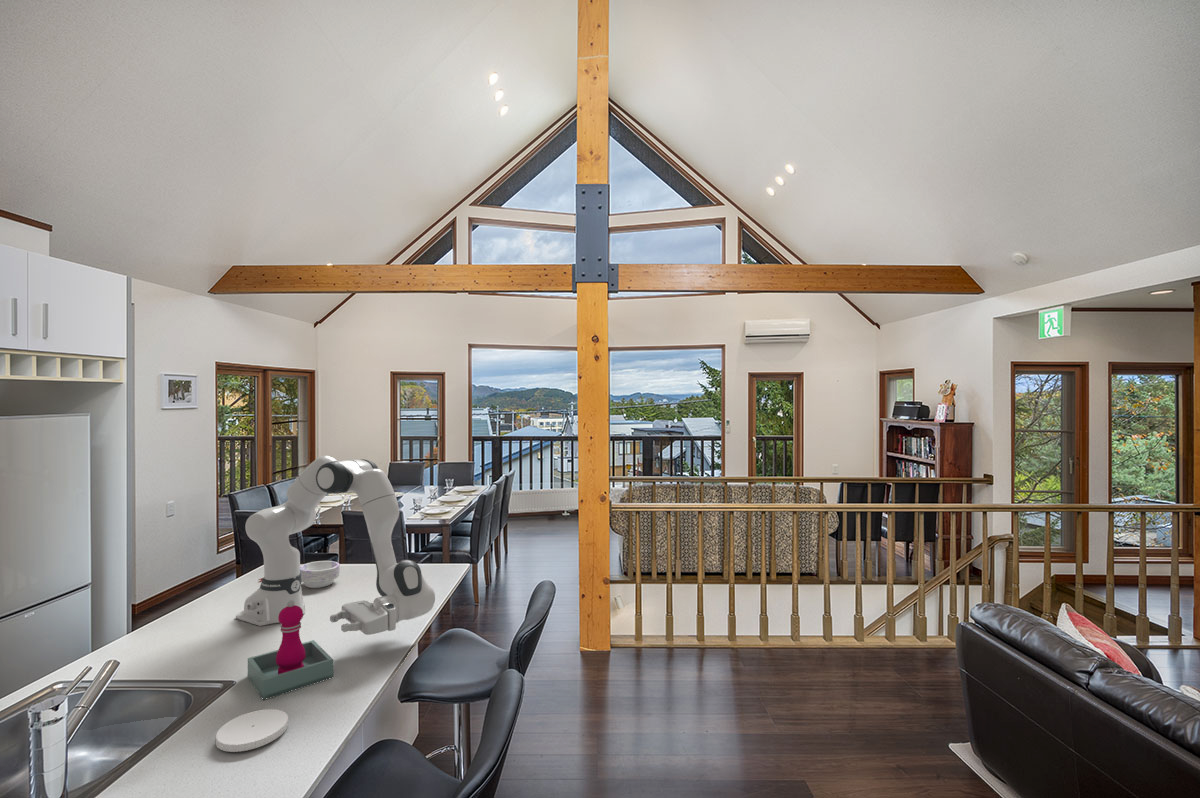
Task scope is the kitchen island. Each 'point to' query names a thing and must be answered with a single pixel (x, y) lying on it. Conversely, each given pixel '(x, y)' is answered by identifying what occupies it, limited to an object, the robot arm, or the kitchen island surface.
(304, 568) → the white bowl
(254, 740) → the plastic lid
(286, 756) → the kitchen island surface
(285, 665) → the pepper mill
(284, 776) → the kitchen island surface
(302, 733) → the kitchen island surface
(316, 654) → the tote
